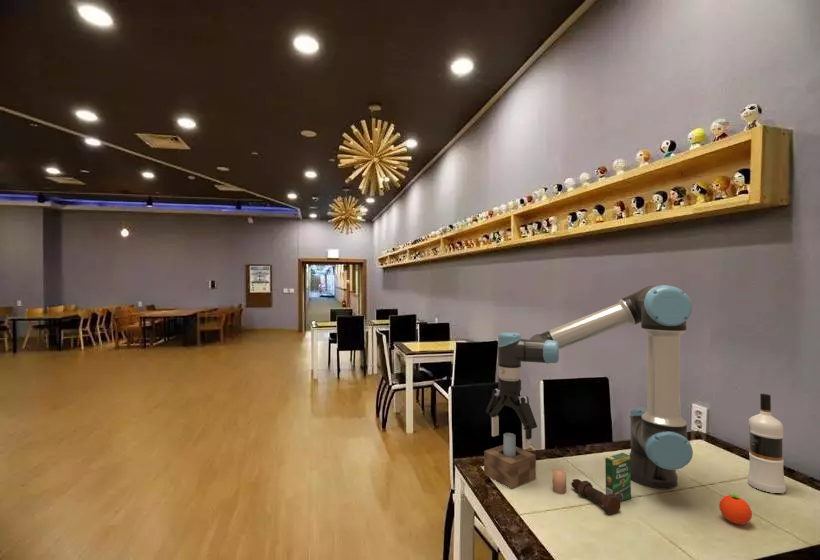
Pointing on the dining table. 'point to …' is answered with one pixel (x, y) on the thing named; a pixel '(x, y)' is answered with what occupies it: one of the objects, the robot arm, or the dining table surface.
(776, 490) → the vodka
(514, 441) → the long dowel
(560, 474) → the short dowel
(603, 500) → the bolt
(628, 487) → the coffee box
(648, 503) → the dining table surface
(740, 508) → the clementine
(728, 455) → the dining table surface
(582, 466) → the dining table surface
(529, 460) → the hole block
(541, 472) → the dining table surface
